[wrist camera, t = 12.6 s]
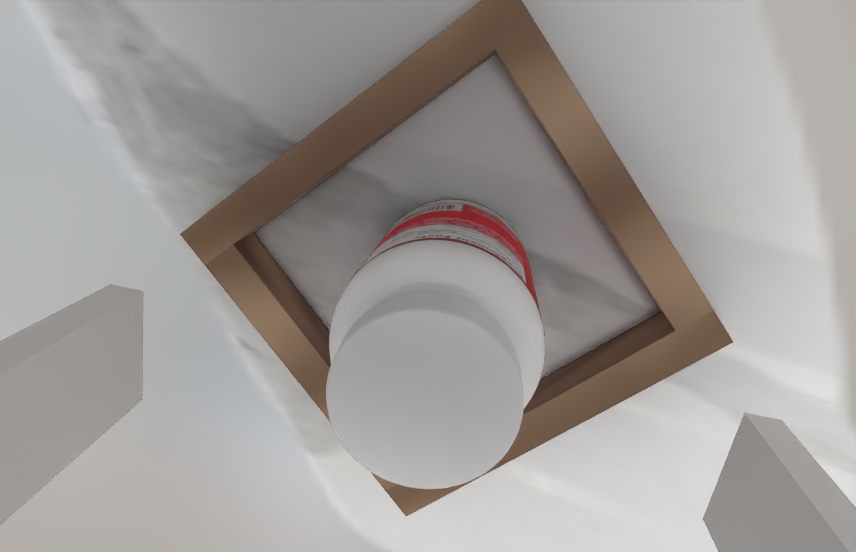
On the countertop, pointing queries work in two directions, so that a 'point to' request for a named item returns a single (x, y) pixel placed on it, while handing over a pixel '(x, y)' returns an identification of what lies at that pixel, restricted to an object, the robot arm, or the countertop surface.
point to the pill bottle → (436, 348)
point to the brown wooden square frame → (588, 162)
